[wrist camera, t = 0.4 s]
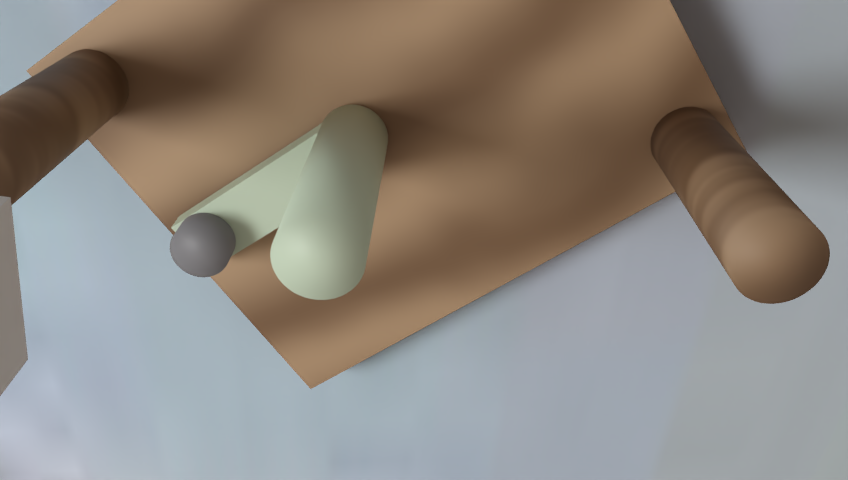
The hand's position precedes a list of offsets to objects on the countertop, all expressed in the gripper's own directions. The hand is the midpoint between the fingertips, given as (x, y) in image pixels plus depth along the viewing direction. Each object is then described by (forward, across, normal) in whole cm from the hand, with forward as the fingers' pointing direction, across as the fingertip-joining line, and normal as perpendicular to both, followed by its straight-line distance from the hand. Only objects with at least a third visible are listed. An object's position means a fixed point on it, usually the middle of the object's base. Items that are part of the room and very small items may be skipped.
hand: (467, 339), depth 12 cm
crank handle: (+23, -6, -9) cm, 25 cm away
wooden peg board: (+26, -2, -5) cm, 26 cm away
